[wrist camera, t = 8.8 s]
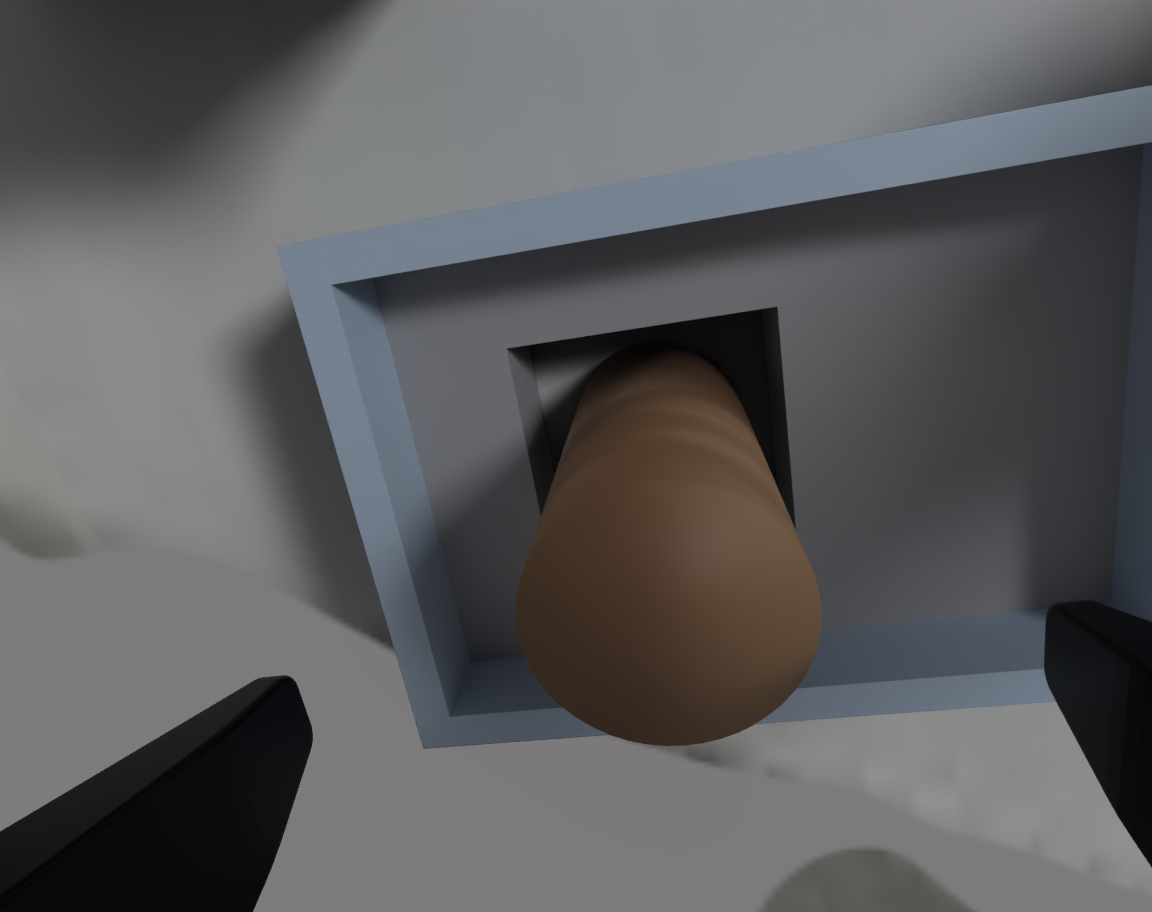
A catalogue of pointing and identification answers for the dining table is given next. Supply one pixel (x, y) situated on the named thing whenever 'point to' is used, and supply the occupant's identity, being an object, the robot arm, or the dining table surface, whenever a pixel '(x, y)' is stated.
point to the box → (778, 397)
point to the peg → (666, 560)
